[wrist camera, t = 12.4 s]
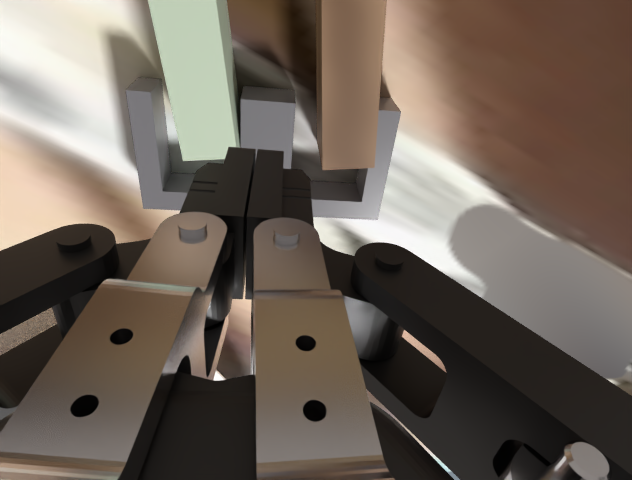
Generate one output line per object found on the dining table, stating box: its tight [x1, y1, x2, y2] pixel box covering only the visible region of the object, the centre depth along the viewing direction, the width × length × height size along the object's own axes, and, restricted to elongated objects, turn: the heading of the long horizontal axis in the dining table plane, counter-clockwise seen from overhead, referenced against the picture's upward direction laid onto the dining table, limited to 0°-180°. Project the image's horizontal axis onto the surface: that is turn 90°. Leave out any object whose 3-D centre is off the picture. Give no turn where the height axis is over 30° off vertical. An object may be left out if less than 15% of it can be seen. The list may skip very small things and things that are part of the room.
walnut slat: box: [315, 0, 387, 170], centre depth 26 cm, size 4×16×5 cm, turn 1°
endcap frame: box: [126, 77, 401, 220], centre depth 26 cm, size 18×26×3 cm
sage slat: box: [148, 0, 241, 161], centre depth 25 cm, size 4×16×5 cm, turn 1°
